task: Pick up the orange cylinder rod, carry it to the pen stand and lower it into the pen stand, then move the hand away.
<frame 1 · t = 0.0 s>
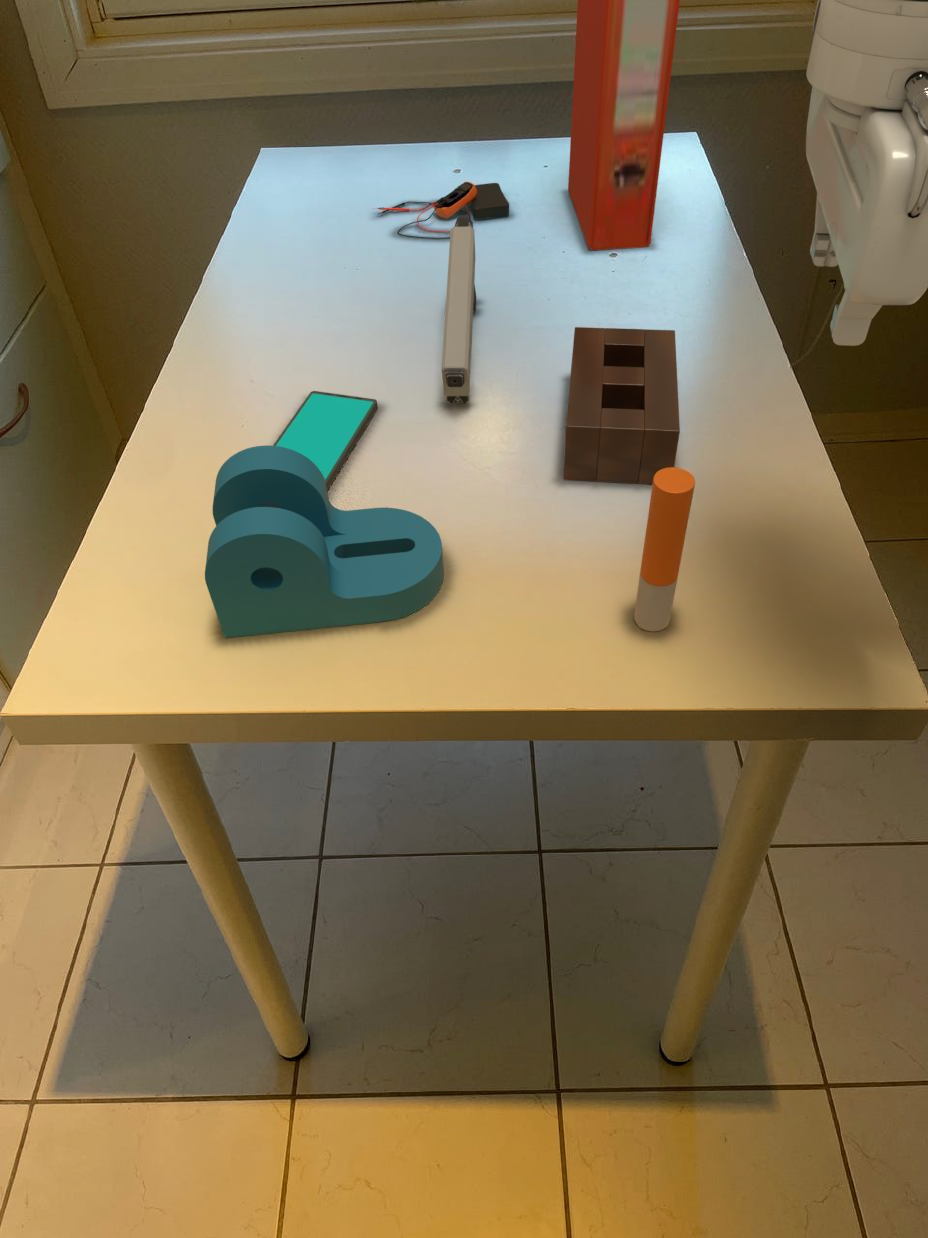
hand: (834, 298, 57), 25 cm above the table, tool pointing down, fingers open, 8 cm apart
file binder: (608, 219, 122), on the table
pen stand: (618, 428, 91), on the table
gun: (462, 352, 101), on the table
camera mount: (337, 581, 78), on the table
smartphone: (317, 446, 91), on the table
multimeter: (441, 219, 123), on the table
orange cylinder rod: (651, 618, 74), on the table
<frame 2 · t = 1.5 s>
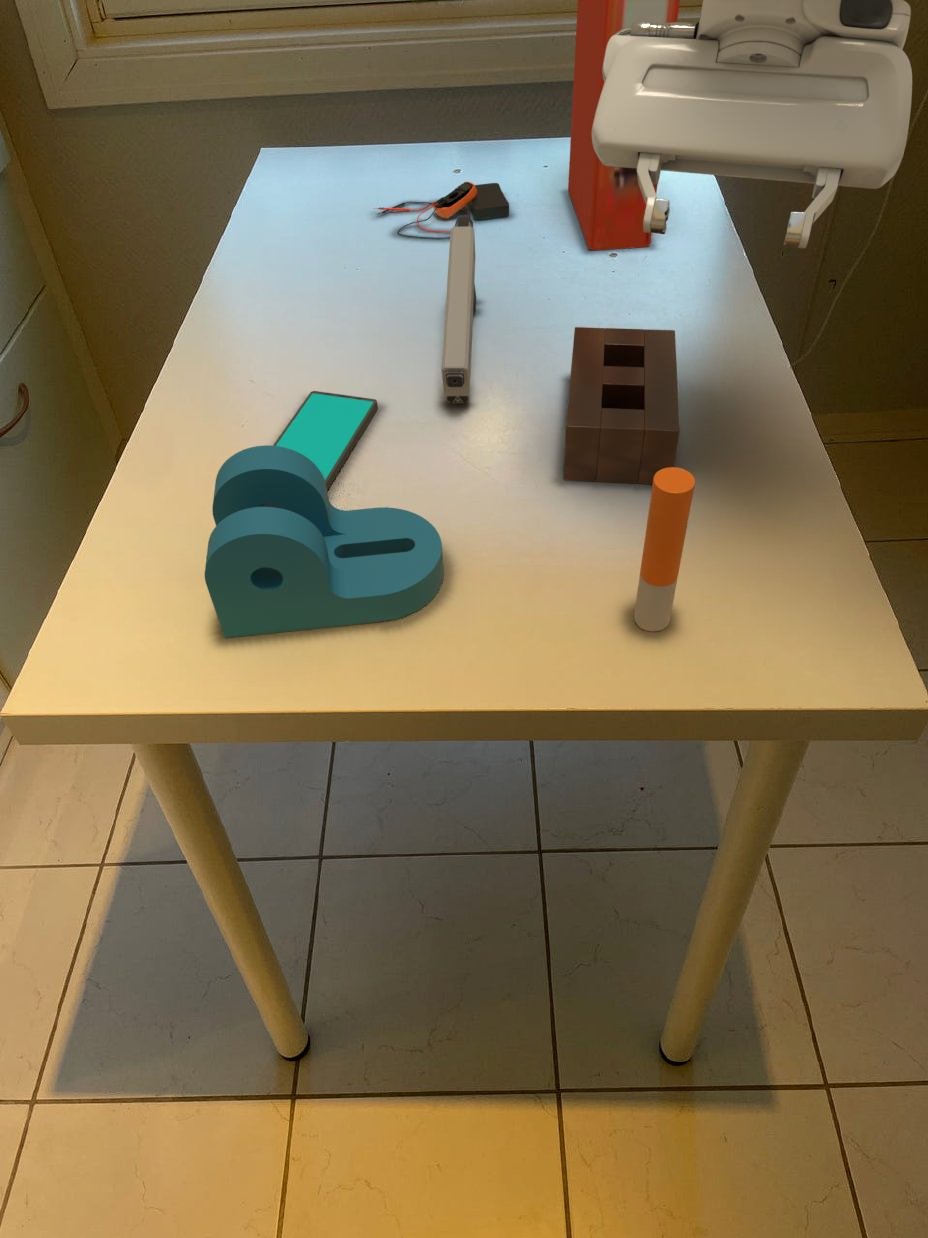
hand: (723, 237, 63), 25 cm above the table, tool tilted 45°, fingers open, 8 cm apart
nothing on the table moved.
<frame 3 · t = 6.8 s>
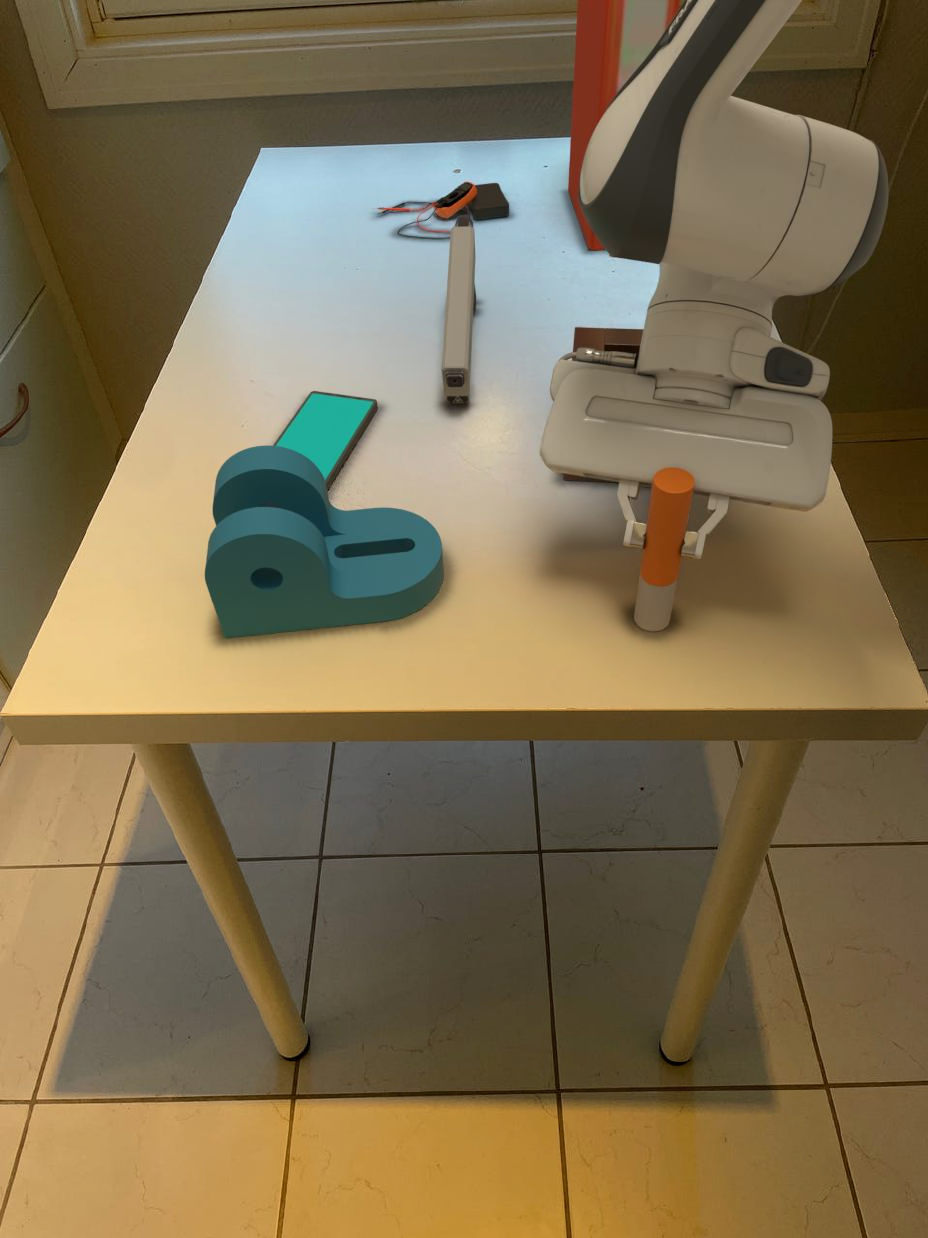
hand: (662, 552, 67), 8 cm above the table, tool tilted 45°, fingers closed on orange cylinder rod, 3 cm apart
orange cylinder rod: (651, 618, 74), on the table, touching gripper
everything else where it was.
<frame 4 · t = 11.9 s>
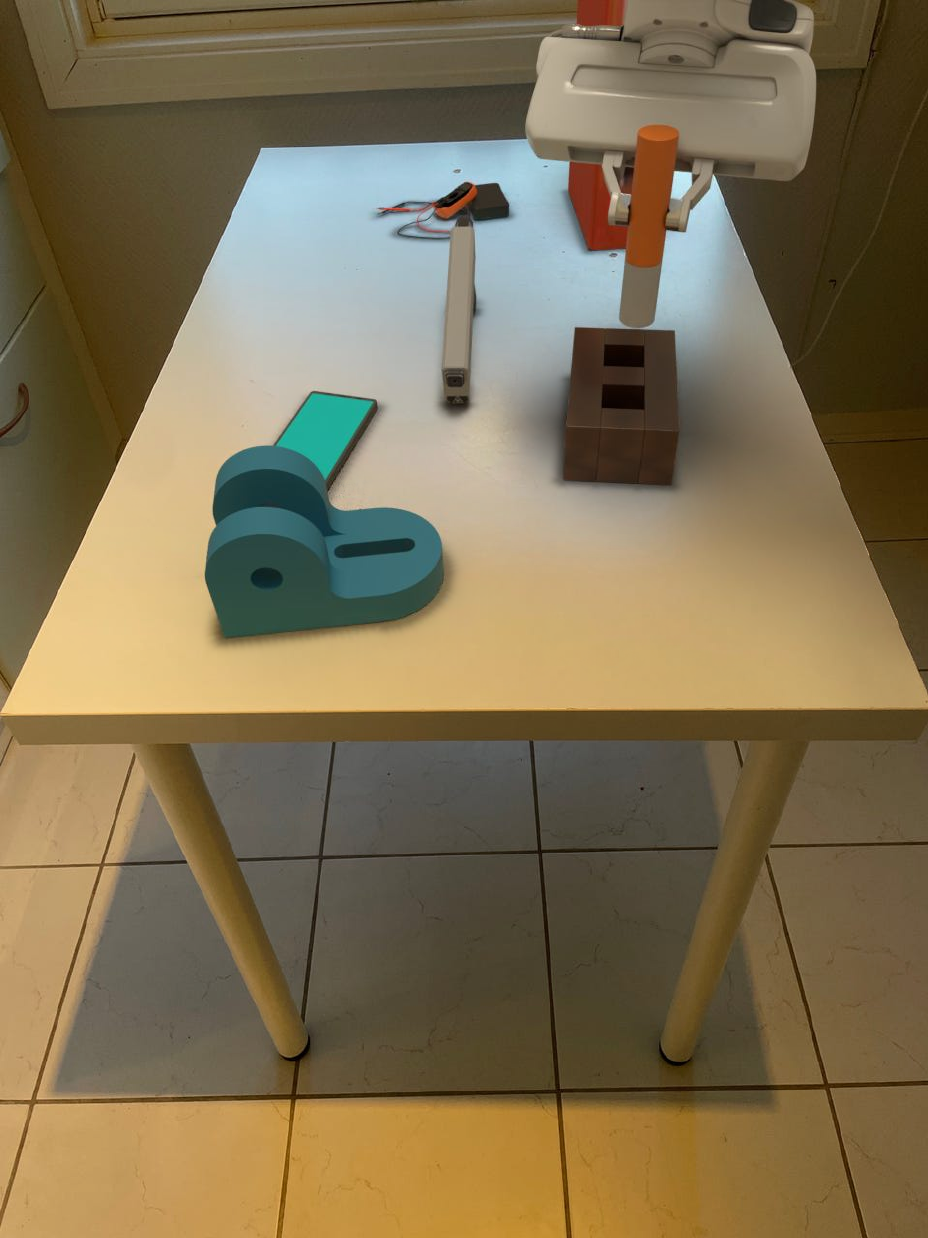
hand: (646, 225, 68), 24 cm above the table, tool tilted 45°, fingers closed on orange cylinder rod, 3 cm apart
orange cylinder rod: (636, 319, 74), point 16 cm above the table, touching gripper
everything else where it was.
when the fingers open (8 cm above the table, at t = 17.0 s): orange cylinder rod stays where it is, resting in pen stand.
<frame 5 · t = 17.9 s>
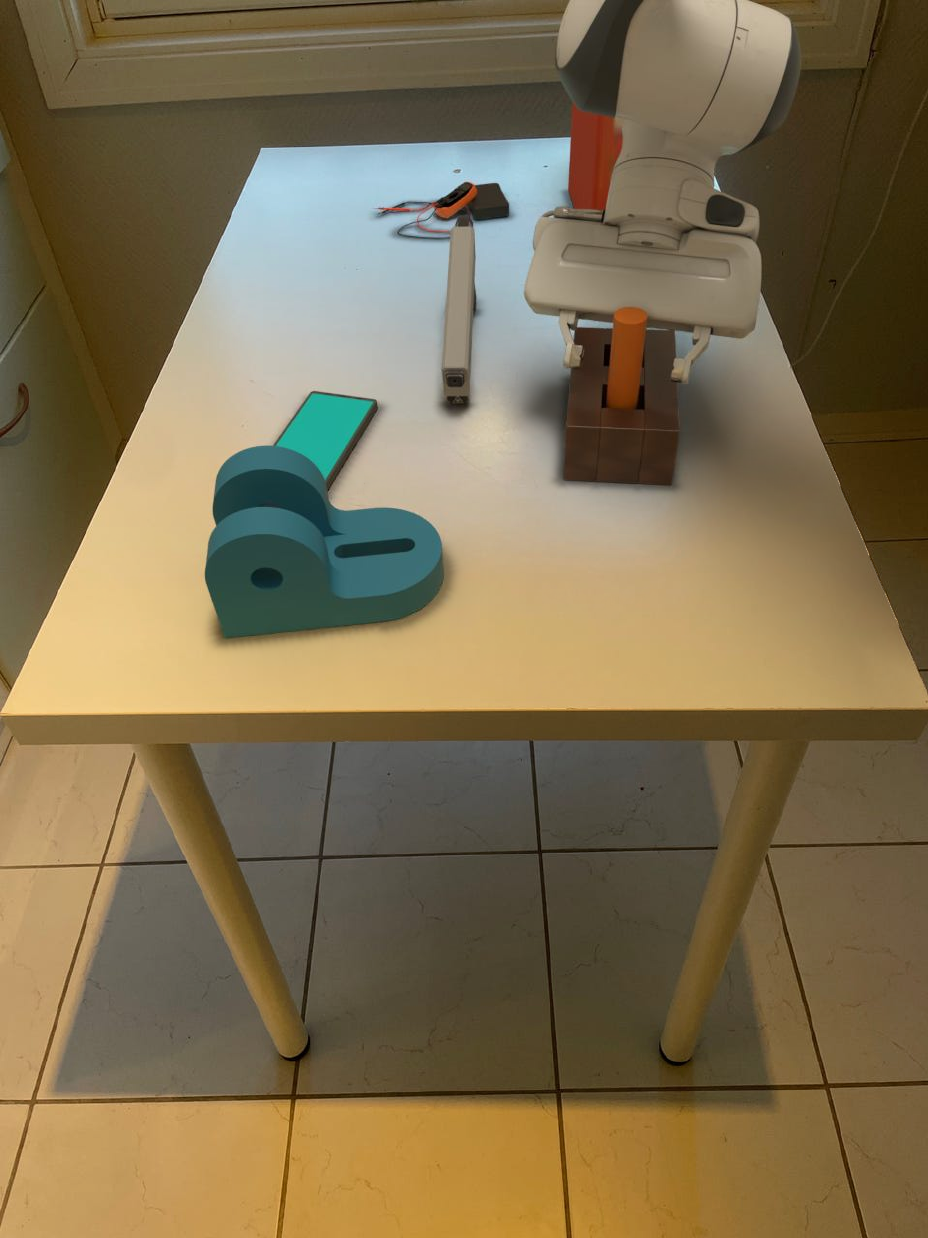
hand: (624, 374, 82), 9 cm above the table, tool tilted 45°, fingers open, 8 cm apart
orange cylinder rod: (617, 449, 88), resting in pen stand
everything else where it was.
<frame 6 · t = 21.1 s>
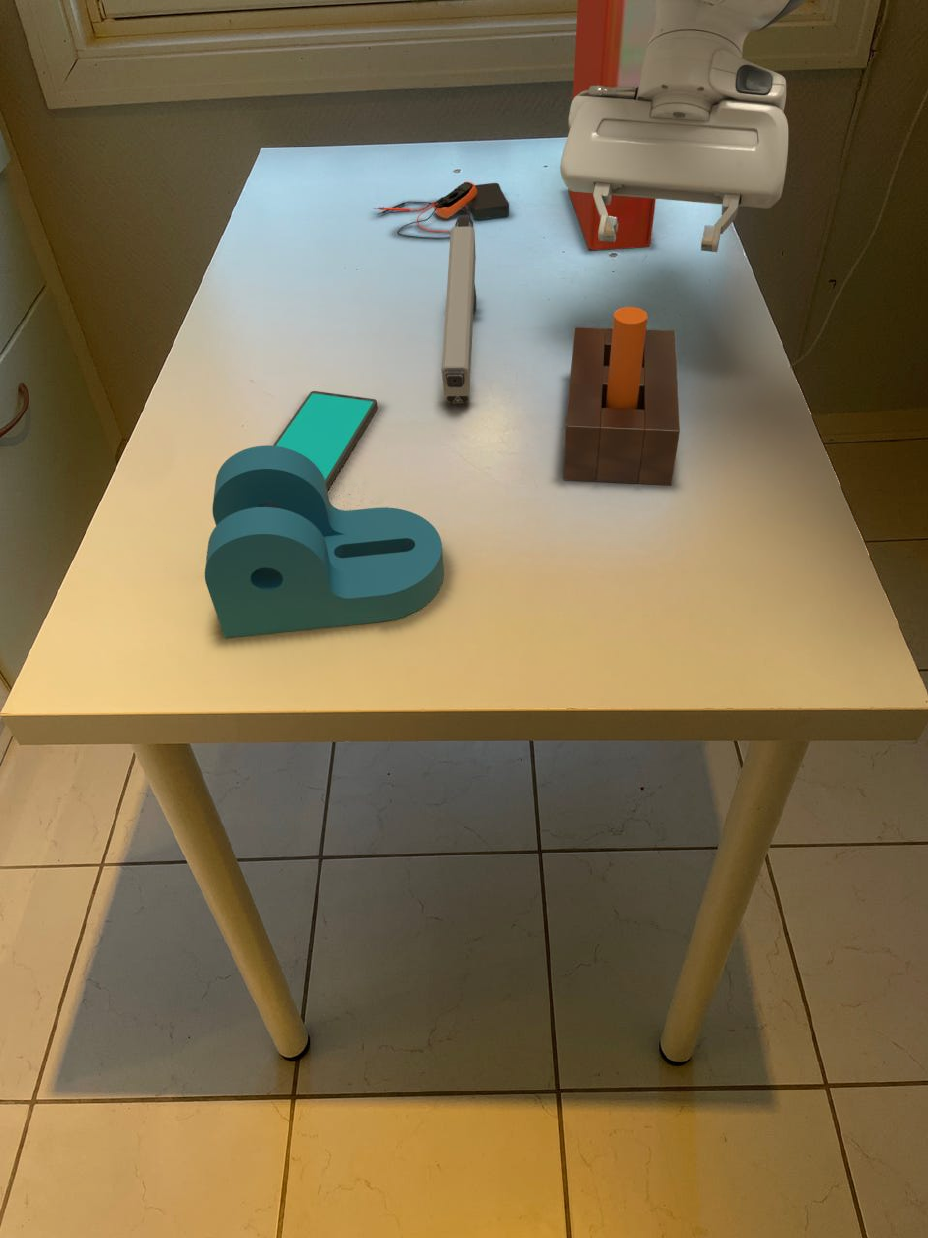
hand: (656, 244, 86), 14 cm above the table, tool tilted 45°, fingers open, 8 cm apart
nothing on the table moved.
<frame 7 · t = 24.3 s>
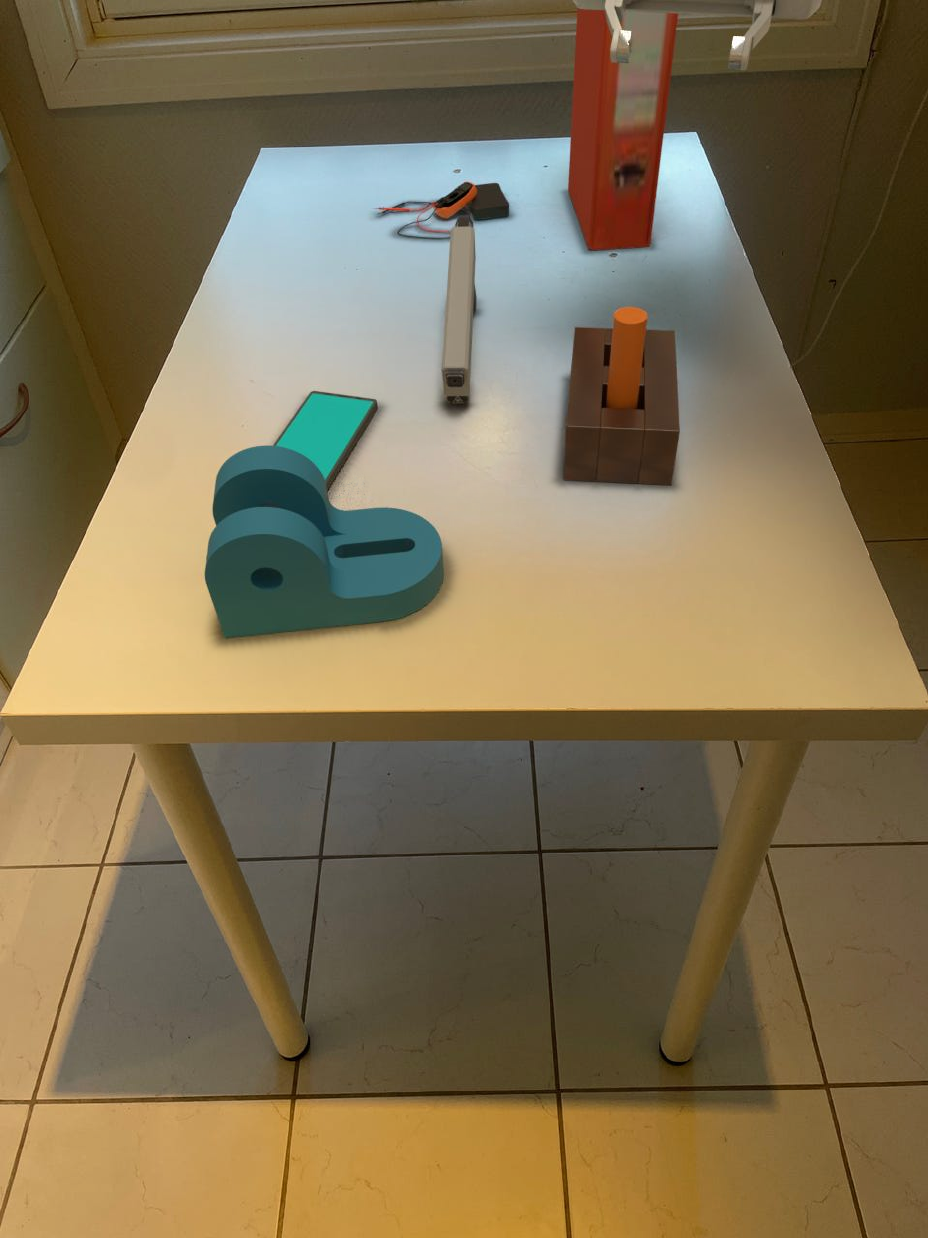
hand: (677, 62, 75), 29 cm above the table, tool tilted 45°, fingers open, 8 cm apart
nothing on the table moved.
at the end: orange cylinder rod 0.1 cm from the target spot in the pen stand, point 0.0 cm above the pen stand's base; orange cylinder rod tilted 0°; the gripper is holding nothing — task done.
